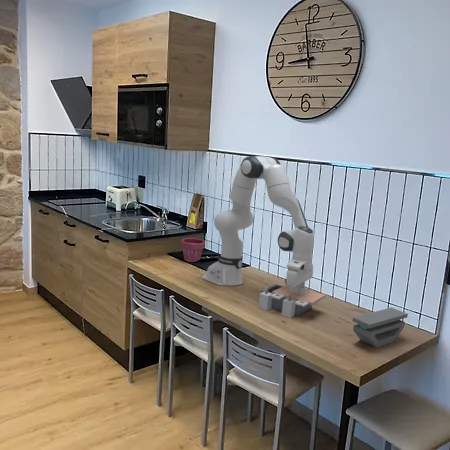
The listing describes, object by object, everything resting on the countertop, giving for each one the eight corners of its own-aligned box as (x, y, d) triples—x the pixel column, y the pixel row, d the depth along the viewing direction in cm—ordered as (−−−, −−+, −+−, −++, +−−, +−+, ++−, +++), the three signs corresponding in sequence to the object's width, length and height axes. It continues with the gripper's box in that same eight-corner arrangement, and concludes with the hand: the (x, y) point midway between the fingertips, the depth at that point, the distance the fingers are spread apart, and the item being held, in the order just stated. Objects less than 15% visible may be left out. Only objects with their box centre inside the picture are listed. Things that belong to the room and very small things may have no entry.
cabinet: (255, 307, 222) (257, 287, 220) (274, 297, 236) (276, 279, 234) (293, 319, 210) (296, 298, 209) (311, 308, 225) (313, 289, 223)
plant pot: (205, 264, 286) (207, 243, 284) (182, 264, 282) (184, 243, 280) (200, 257, 299) (201, 237, 297) (178, 257, 295) (179, 237, 293)
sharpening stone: (365, 351, 183) (369, 324, 181) (349, 343, 189) (352, 317, 187) (404, 338, 198) (407, 313, 196) (387, 331, 204) (391, 307, 202)
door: (267, 296, 217) (268, 287, 216) (286, 287, 231) (287, 278, 231) (307, 307, 205) (308, 298, 205) (325, 297, 220) (326, 288, 219)
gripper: (305, 257, 227) (302, 285, 230) (285, 265, 210) (282, 295, 213) (317, 259, 223) (314, 288, 226) (297, 268, 207) (294, 298, 209)
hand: (298, 291), depth 219 cm, fingers closed on door, 2 cm apart
